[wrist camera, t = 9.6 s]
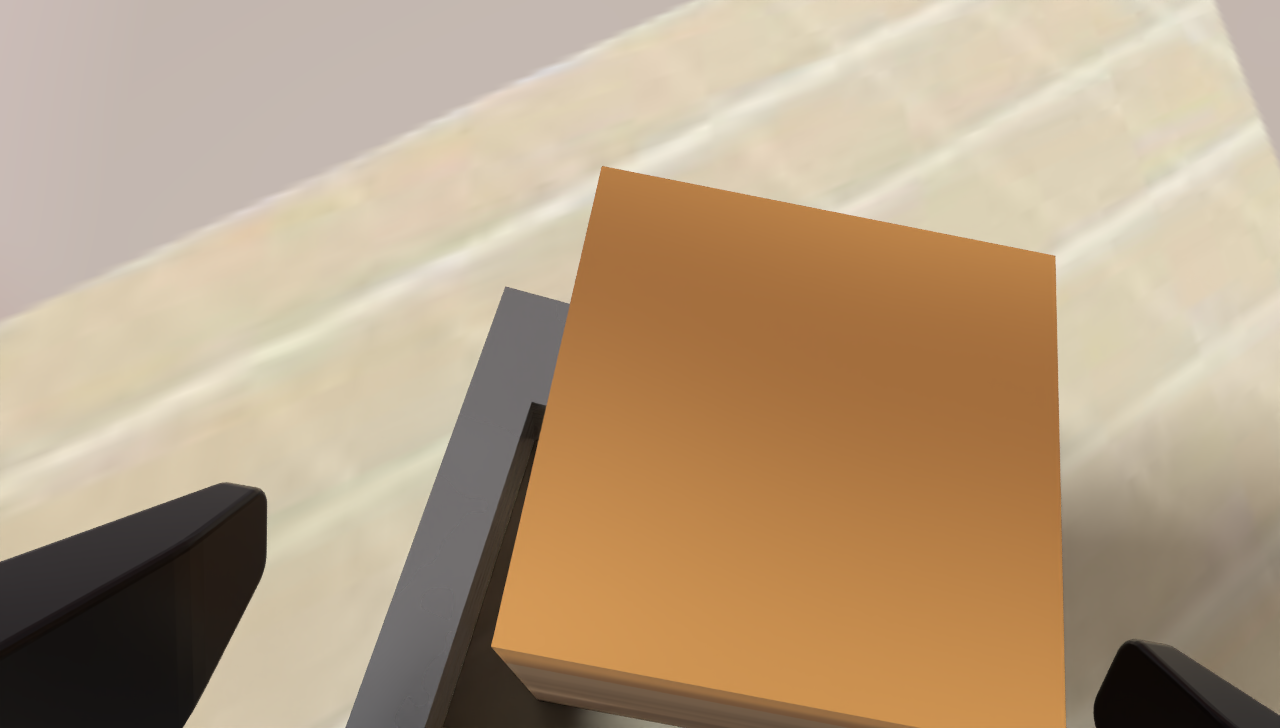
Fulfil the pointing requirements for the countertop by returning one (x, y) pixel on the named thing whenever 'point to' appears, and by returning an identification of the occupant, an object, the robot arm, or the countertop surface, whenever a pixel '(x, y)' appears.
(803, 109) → the countertop surface
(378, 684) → the grey rectangular frame
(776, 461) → the walnut pin
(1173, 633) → the countertop surface
